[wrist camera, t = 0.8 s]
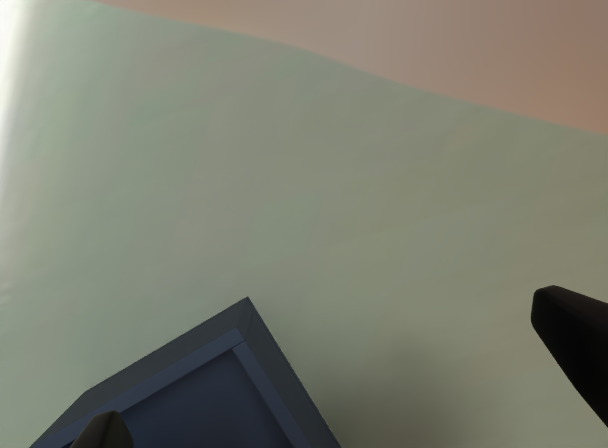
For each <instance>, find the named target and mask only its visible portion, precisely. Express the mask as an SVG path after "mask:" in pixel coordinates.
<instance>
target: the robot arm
mask: <svg viewBox="0 0 608 448" xmlns="http://www.w3.org/2000/svg"><path fill="white" fill-rule="evenodd" d="M531 323H532V325H533V328H534V329H535V331H536V332H537V334H538V335H539V337H540V338H541V340H542V341H543V343H544V344H545V345H546V347H547V348H548V350H549V351H550V353H551V354H552V356H553V357H554V359H555V360H556V361H557V363H558V364H559V366H560V367H561V369H562V370H563V372H564V373H565V375H566V376H567V378H568V379H569V380H570V382H571V383H572V384H573V386H574V387H575V389H576V390H577V391H578V392H579V394H580V395H581V396H582V397H583V399H584V400H585V401H586V402H587V403H588V405H589V406H590V407H591V408H592V409H593V411H594V412H595V413H596V414H597V415H598V417H599V418H600V419H601V420H602V421H603V422H604V424H605V425H606V426H607V427H608V303H605V302H602V301H599V300H596V299H593V298H591V297H588V296H585V295H582V294H579V293H576V292H573V291H571V290H568V289H565V288H562V287H559V286H555V285H552V286H548V287H544V288H540V289H538V290H536V291H535V293H534V296H533V303H532V311H531ZM70 448H134V444H133V438H132V435H131V433H130V431H129V430H128V428H127V426H126V424H125V422H124V421H123V419H122V417H121V415H120V414H119V412H118V411H116V410H110V411H107V412H103V413H100V414H96V415H95V416H93V417H92V418H91V419H90V421H89V422H88V423H87V425H86V426H85V428H84V429H83V430H82V432H81V433H80V434H79V436H78V437H77V438H76V440H75V441H74V443H73V444H72V445H71V447H70Z"/></svg>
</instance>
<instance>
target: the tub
mask: <svg viewBox="0 0 608 448" xmlns="http://www.w3.org/2000/svg"><path fill="white" fill-rule="evenodd" d="M110 410H116V411H118V412H119V414H120V415H121V417H122V419H123V421H124V422H125V424H126V426H127V428H128V430H129V431H130V433H131V435H132V438H133V444H134V448H341V447H340V445H339V443H338V442H337V440H336V439H335V437H334V435H333V434H332V432H331V430H330V429H329V427H328V426H327V424H326V422H325V421H324V419H323V418H322V416H321V414H320V413H319V411H318V409H317V408H316V406H315V405H314V403H313V401H312V400H311V398H310V396H309V395H308V393H307V392H306V390H305V388H304V387H303V385H302V383H301V382H300V380H299V379H298V377H297V375H296V374H295V372H294V370H293V369H292V367H291V366H290V364H289V362H288V361H287V359H286V357H285V356H284V354H283V353H282V351H281V349H280V348H279V346H278V344H277V343H276V341H275V340H274V338H273V336H272V335H271V333H270V332H269V330H268V328H267V327H266V325H265V323H264V322H263V320H262V319H261V317H260V315H259V314H258V312H257V310H256V309H255V307H254V306H253V304H252V302H251V301H250V299H249V297H246V298H244V299H242V300H241V301H239V302H237V303H236V304H234V305H232V306H230V307H229V308H227V309H225V310H224V311H222V312H220V313H219V314H217V315H215V316H213V317H212V318H210V319H208V320H207V321H205V322H203V323H201V324H200V325H198V326H196V327H195V328H193V329H191V330H190V331H188V332H186V333H184V334H183V335H181V336H179V337H178V338H176V339H174V340H173V341H171V342H169V343H167V344H166V345H164V346H162V347H161V348H159V349H157V350H155V351H154V352H152V353H150V354H149V355H147V356H145V357H144V358H142V359H140V360H138V361H137V362H135V363H133V364H132V365H130V366H128V367H127V368H125V369H123V370H121V371H120V372H118V373H116V374H115V375H113V376H111V377H109V378H108V379H106V380H104V381H103V382H101V383H99V384H98V385H96V386H94V387H92V388H91V389H89V390H87V391H86V392H84V393H83V394H82V395H81V396H80V397H79V398H78V399H77V400H76V401H75V402H74V403H73V404H72V405H71V406H70V407H69V408H68V409H67V410H66V411H65V412H64V413H63V414H62V415H61V416H60V417H59V418H58V419H57V420H56V421H55V422H54V423H53V424H52V425H51V426H50V427H49V428H48V429H47V430H46V431H45V432H44V433H43V434H42V435H41V436H40V437H39V438H38V439H37V440H36V441H35V442H34V443H33V444H32V445H31V446H30V447H29V448H70V447H71V445H72V444H73V443H74V441H75V440H76V438H77V437H78V436H79V434H80V433H81V432H82V430H83V429H84V428H85V426H86V425H87V423H88V422H89V421H90V419H91V418H92V417H93V416H95V415H96V414H100V413H103V412H107V411H110Z"/></svg>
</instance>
